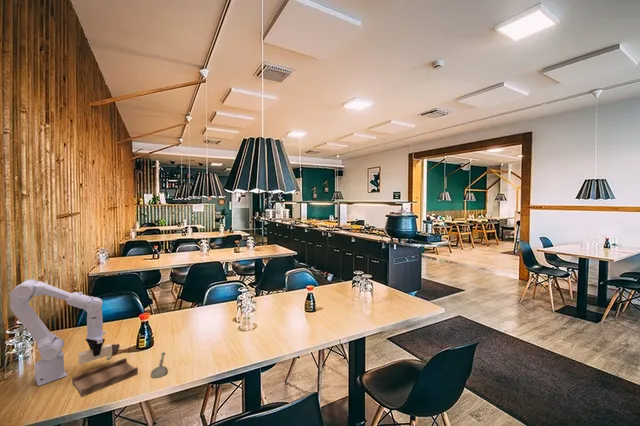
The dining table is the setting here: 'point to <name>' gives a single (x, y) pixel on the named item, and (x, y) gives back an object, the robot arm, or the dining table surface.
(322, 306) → the dining table surface
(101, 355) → the clay bar
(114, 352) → the ice cream bar
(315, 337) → the dining table surface
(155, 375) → the soupspoon
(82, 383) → the tray
